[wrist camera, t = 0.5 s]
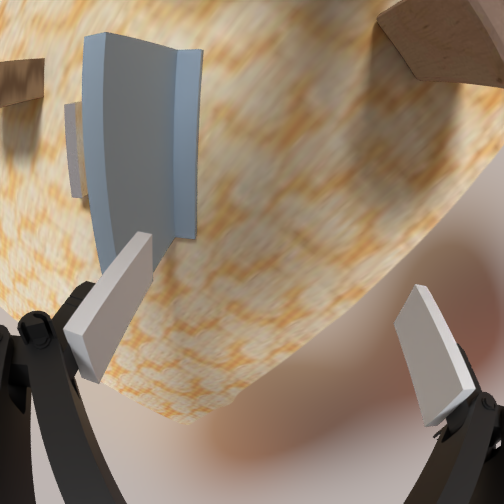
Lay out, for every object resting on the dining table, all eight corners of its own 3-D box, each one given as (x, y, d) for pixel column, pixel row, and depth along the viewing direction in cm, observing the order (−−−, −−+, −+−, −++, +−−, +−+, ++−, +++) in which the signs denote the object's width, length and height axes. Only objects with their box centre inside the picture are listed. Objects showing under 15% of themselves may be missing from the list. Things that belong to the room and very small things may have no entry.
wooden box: (3, 72, 31) (-38, 80, 22) (44, 58, 31) (-1, 62, 22) (3, 106, 34) (-37, 119, 26) (44, 96, 34) (-1, 107, 25)
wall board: (165, 51, 31) (84, 36, 16) (203, 50, 31) (142, 26, 15) (164, 232, 44) (111, 312, 29) (196, 236, 44) (155, 321, 29)
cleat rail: (76, 102, 35) (64, 104, 32) (87, 100, 34) (75, 103, 32) (82, 190, 42) (72, 197, 39) (92, 190, 42) (82, 197, 39)
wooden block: (416, 83, 30) (517, 95, 13) (371, 19, 27) (447, -27, 9) (464, 54, 26) (568, 58, 9) (423, -8, 23) (512, -46, 6)
